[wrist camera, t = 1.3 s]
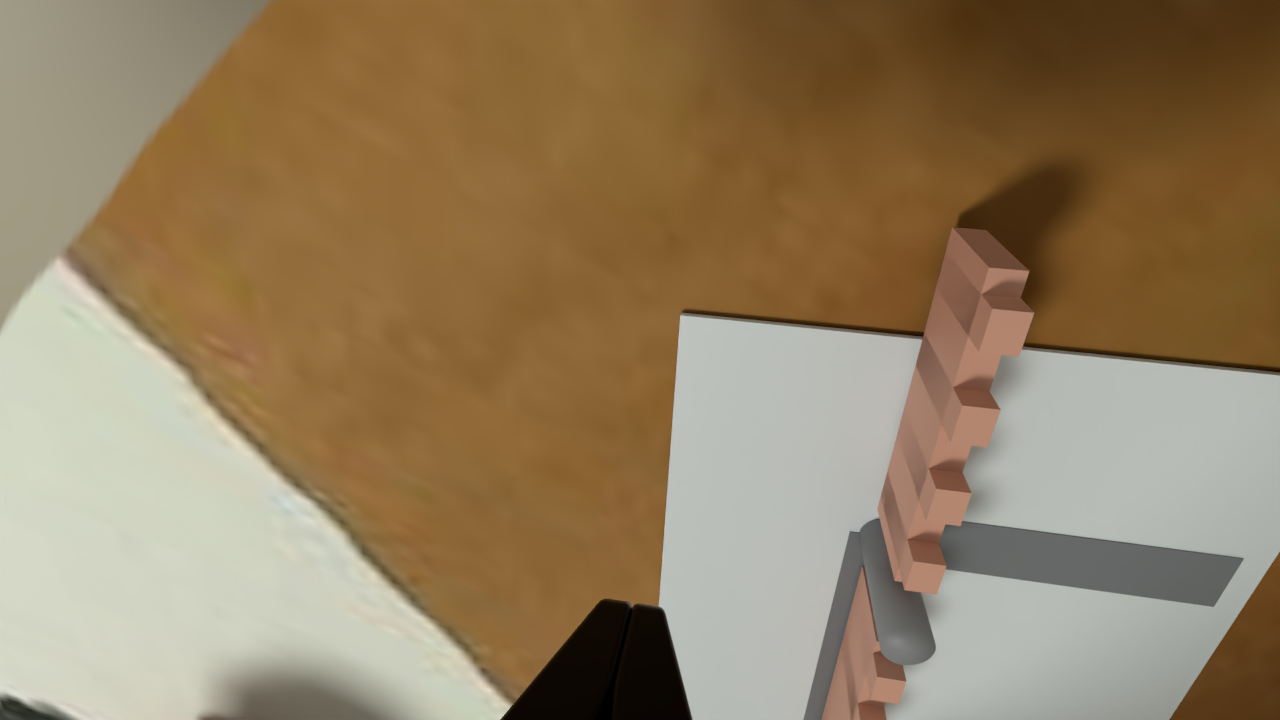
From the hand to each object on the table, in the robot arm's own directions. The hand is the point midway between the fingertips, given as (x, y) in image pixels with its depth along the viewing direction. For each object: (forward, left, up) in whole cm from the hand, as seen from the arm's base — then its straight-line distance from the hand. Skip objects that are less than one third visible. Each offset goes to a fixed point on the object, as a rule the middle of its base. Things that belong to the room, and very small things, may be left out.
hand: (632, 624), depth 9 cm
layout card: (-10, -8, -11) cm, 18 cm away
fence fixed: (-12, -7, -11) cm, 18 cm away
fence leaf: (-2, -7, -11) cm, 13 cm away
